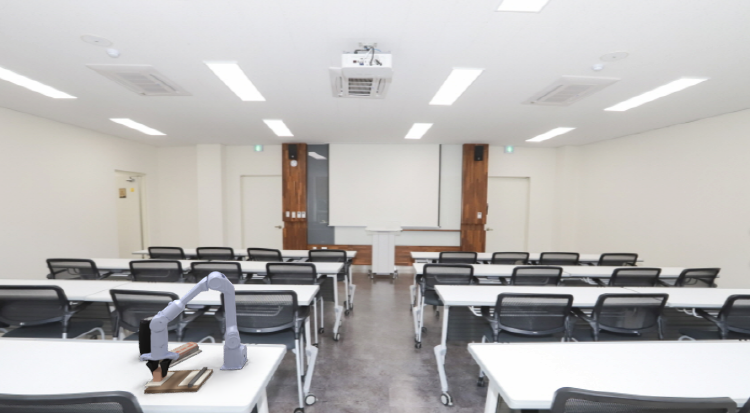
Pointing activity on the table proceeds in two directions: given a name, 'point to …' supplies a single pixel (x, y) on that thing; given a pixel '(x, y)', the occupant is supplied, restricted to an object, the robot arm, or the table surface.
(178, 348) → the packaged product
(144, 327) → the portable speaker
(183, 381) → the board
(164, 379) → the stub
